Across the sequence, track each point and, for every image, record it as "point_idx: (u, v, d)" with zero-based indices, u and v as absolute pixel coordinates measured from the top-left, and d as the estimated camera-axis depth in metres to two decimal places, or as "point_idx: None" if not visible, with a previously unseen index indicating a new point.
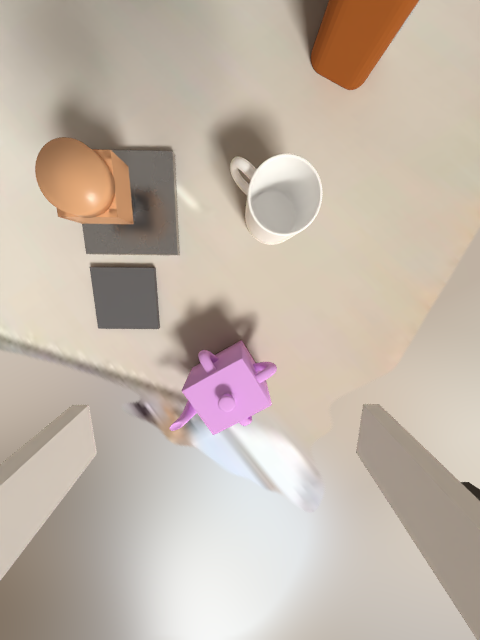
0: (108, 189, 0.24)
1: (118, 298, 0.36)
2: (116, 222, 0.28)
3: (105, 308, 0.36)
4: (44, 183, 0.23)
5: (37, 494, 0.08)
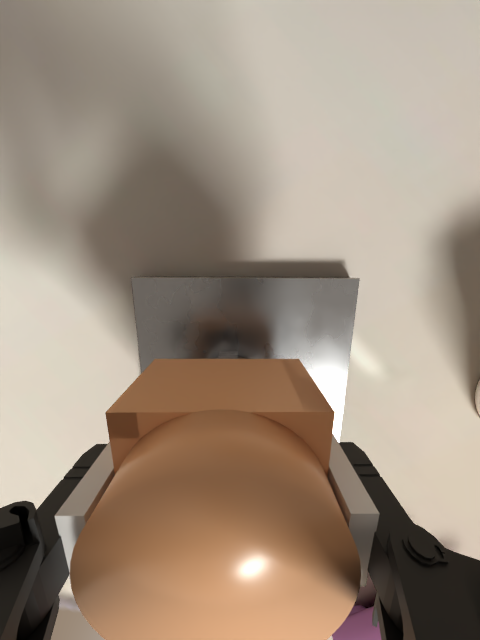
0: None
1: None
2: None
3: None
4: (106, 608, 0.05)
5: None
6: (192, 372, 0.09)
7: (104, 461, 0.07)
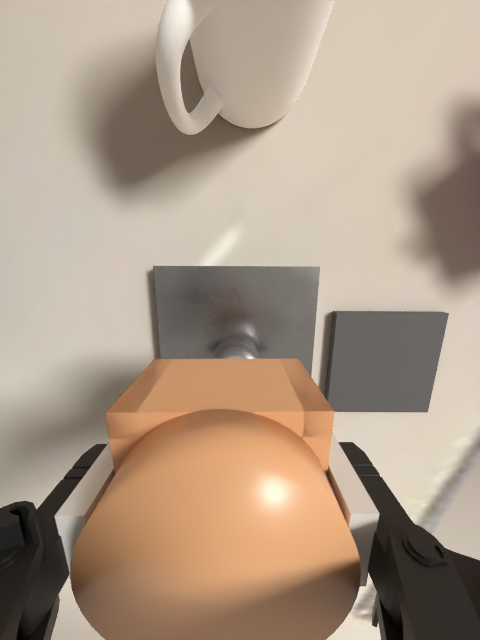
0: None
1: (381, 375, 0.21)
2: None
3: (395, 397, 0.22)
4: (107, 607, 0.06)
5: None
6: (191, 372, 0.09)
7: (104, 461, 0.07)
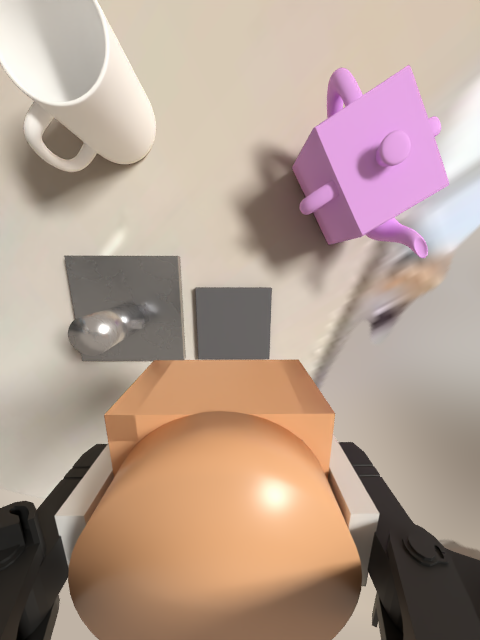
0: None
1: (232, 332, 0.30)
2: None
3: (245, 348, 0.31)
4: (105, 612, 0.05)
5: None
6: (191, 374, 0.09)
7: (104, 461, 0.07)
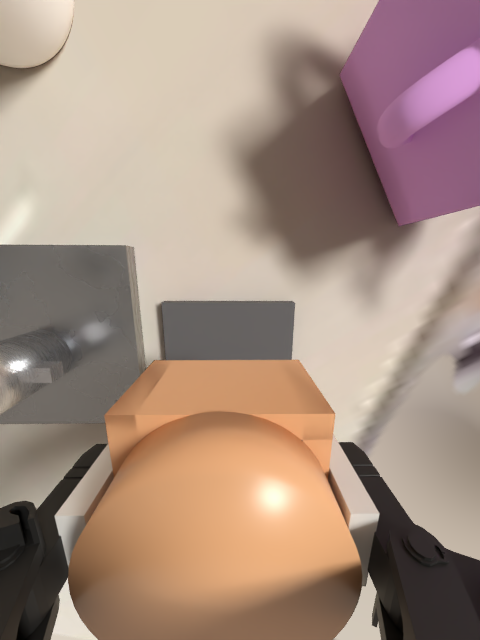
0: None
1: None
2: None
3: None
4: (106, 612, 0.05)
5: None
6: (191, 374, 0.09)
7: (104, 461, 0.07)
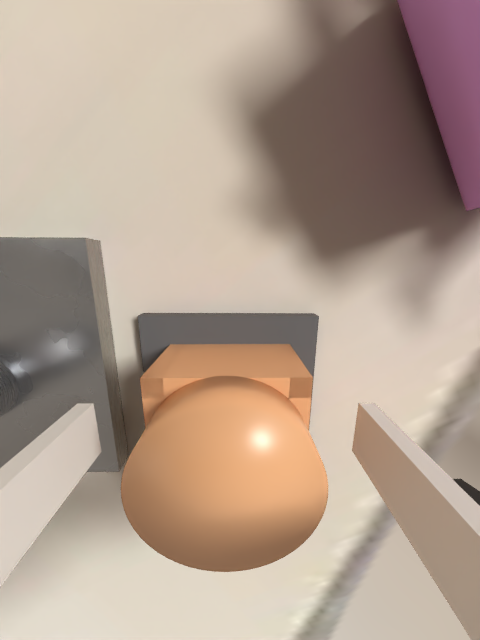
0: None
1: None
2: None
3: None
4: (145, 514, 0.08)
5: (44, 491, 0.08)
6: (202, 353, 0.11)
7: None
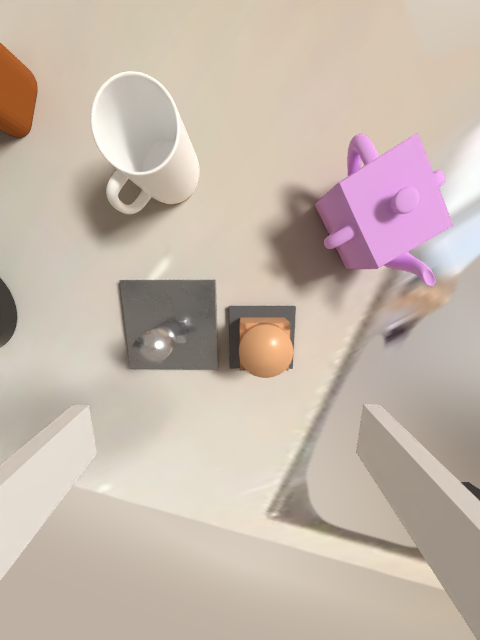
0: None
1: None
2: None
3: None
4: (244, 357, 0.29)
5: (37, 494, 0.08)
6: (254, 319, 0.32)
7: None
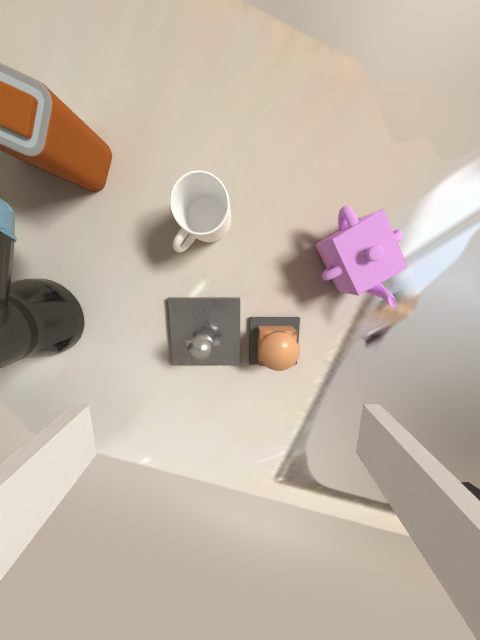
0: None
1: None
2: None
3: None
4: (264, 356, 0.40)
5: (37, 494, 0.08)
6: (269, 327, 0.43)
7: None
